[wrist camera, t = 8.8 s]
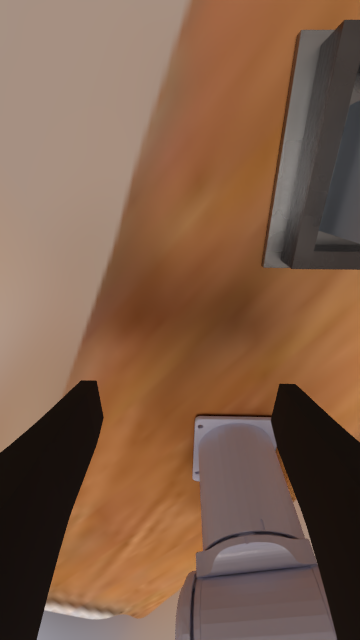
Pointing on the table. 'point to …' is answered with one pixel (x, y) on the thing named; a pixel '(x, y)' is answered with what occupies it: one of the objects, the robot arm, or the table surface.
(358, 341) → the table surface
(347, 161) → the block
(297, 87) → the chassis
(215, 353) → the table surface
